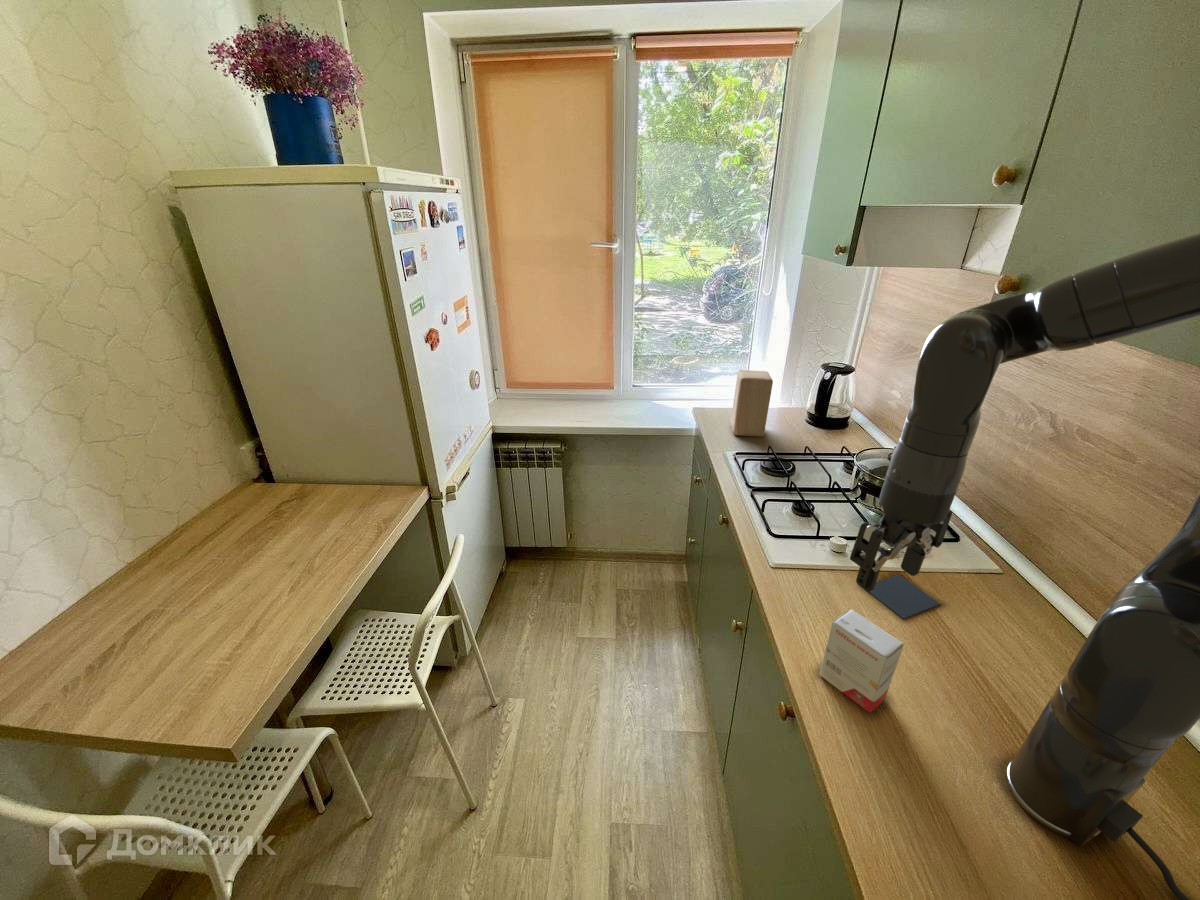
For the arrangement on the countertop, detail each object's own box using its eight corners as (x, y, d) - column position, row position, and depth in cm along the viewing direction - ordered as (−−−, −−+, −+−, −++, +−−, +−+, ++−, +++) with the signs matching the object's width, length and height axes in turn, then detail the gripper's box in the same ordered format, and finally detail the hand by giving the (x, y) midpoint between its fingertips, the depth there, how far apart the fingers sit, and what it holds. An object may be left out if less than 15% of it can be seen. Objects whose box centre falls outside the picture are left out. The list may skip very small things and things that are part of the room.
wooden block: (730, 424, 172) (737, 369, 163) (759, 426, 170) (768, 370, 161) (733, 436, 163) (741, 378, 154) (764, 438, 161) (774, 379, 153)
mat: (940, 604, 93) (940, 603, 93) (903, 619, 90) (903, 618, 90) (898, 575, 101) (898, 574, 101) (862, 587, 98) (862, 587, 97)
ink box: (886, 699, 75) (908, 643, 70) (867, 716, 73) (889, 659, 67) (834, 660, 82) (851, 606, 76) (816, 674, 79) (831, 620, 74)
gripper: (908, 504, 55) (872, 612, 62) (990, 480, 60) (948, 583, 67) (854, 473, 61) (826, 575, 68) (933, 454, 66) (899, 551, 73)
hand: (886, 579), depth 68 cm, fingers open, 8 cm apart
